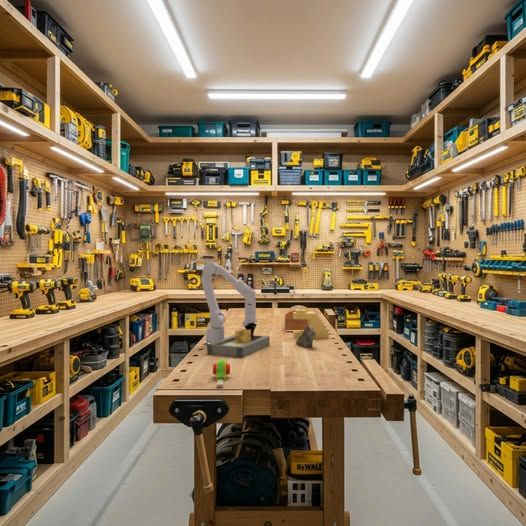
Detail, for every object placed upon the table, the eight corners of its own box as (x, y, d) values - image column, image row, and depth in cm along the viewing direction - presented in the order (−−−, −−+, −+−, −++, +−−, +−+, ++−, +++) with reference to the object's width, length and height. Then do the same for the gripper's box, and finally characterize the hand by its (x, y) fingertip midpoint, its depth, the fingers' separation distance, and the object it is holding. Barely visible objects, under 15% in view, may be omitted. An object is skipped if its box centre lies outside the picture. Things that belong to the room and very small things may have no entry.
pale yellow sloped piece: (294, 338, 229) (294, 310, 229) (292, 335, 238) (292, 309, 239) (328, 338, 230) (328, 310, 230) (325, 335, 240) (325, 308, 240)
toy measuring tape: (230, 372, 158) (230, 356, 158) (228, 388, 138) (228, 369, 138) (214, 373, 158) (214, 356, 158) (210, 388, 138) (210, 369, 138)
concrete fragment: (299, 342, 219) (299, 322, 219) (321, 348, 202) (321, 326, 202) (290, 343, 216) (290, 322, 216) (311, 349, 199) (311, 327, 199)
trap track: (207, 353, 191) (207, 344, 191) (237, 342, 219) (237, 334, 219) (242, 357, 183) (242, 347, 183) (269, 345, 211) (269, 336, 211)
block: (235, 342, 203) (235, 330, 203) (240, 340, 208) (240, 329, 208) (245, 343, 200) (245, 331, 200) (250, 341, 206) (250, 329, 206)
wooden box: (286, 324, 284) (286, 305, 284) (310, 325, 281) (310, 305, 281) (282, 331, 254) (282, 309, 254) (308, 332, 251) (308, 310, 251)
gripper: (251, 313, 204) (251, 340, 203) (262, 310, 217) (262, 335, 217) (238, 313, 206) (238, 339, 206) (251, 310, 220) (251, 334, 220)
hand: (250, 337), depth 212 cm, fingers closed
